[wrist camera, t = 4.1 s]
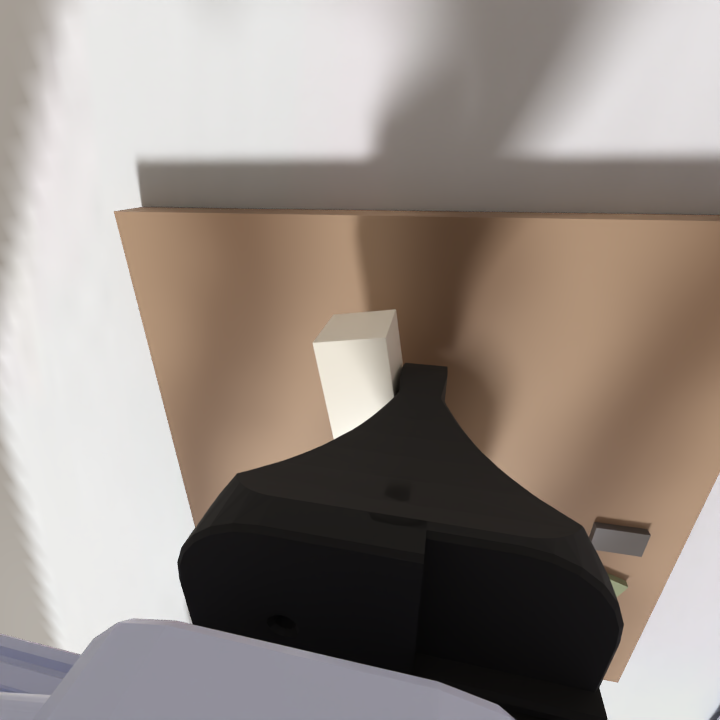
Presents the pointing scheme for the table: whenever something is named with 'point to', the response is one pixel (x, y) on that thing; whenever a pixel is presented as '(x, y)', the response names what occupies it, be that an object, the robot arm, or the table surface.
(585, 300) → the board
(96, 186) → the table surface
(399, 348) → the peg
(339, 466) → the robot arm
